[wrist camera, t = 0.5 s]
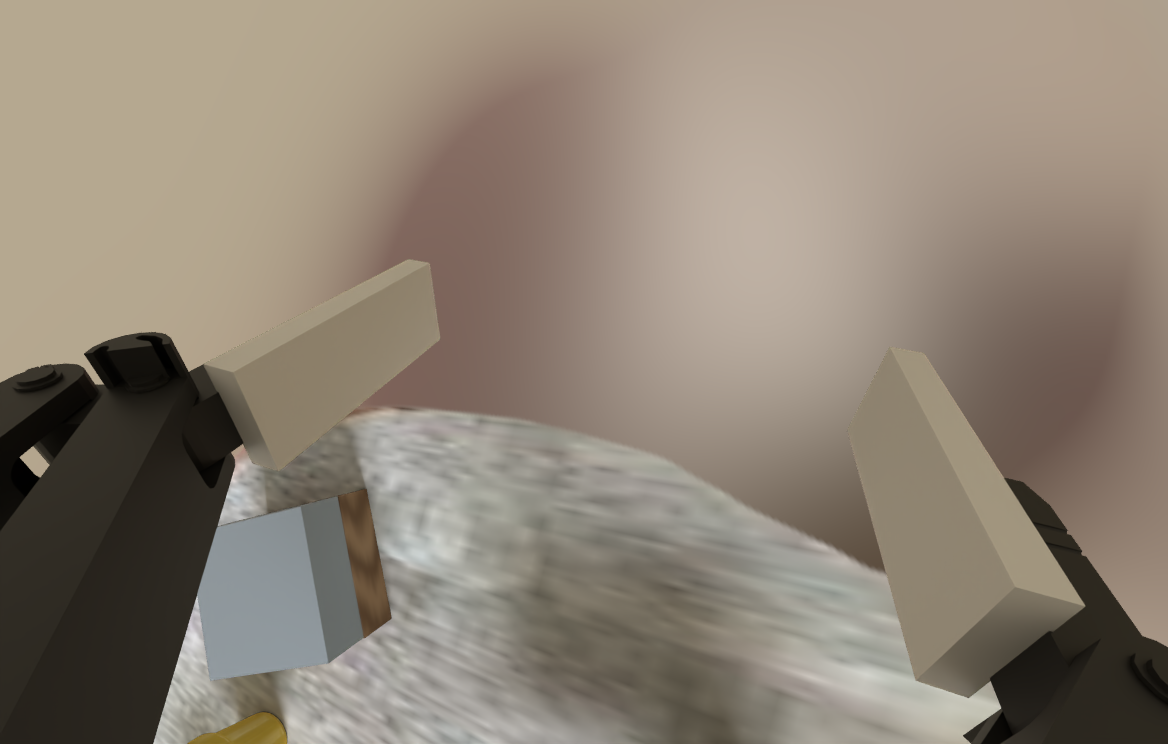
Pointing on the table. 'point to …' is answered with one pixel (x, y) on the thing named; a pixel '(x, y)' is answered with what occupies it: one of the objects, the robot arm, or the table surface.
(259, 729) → the plant pot
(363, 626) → the tower base
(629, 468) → the table surface
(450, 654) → the table surface
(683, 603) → the table surface
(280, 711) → the table surface
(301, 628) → the tower top
